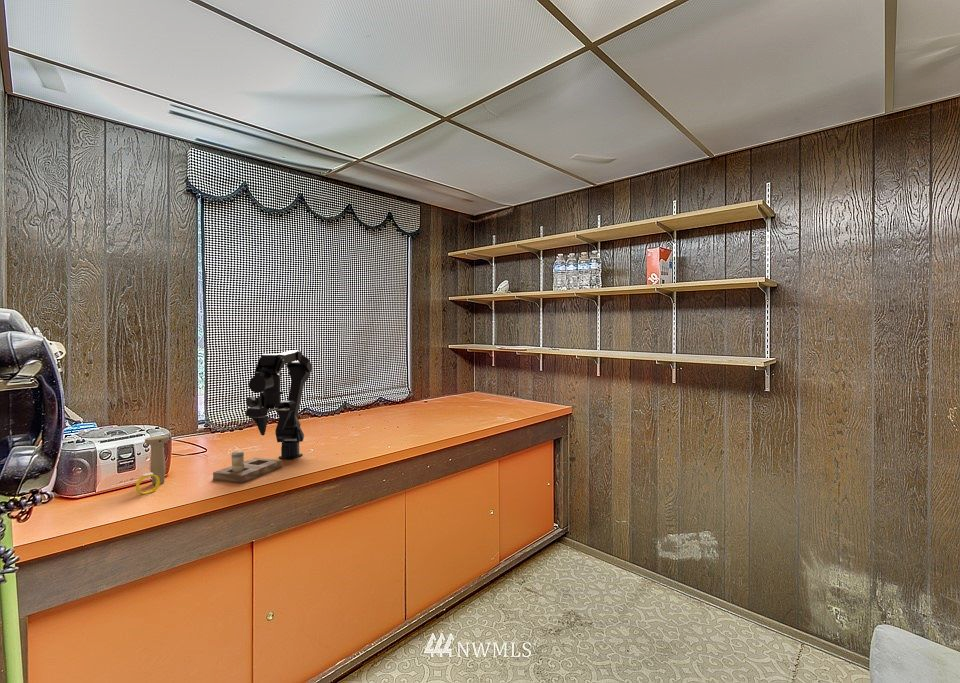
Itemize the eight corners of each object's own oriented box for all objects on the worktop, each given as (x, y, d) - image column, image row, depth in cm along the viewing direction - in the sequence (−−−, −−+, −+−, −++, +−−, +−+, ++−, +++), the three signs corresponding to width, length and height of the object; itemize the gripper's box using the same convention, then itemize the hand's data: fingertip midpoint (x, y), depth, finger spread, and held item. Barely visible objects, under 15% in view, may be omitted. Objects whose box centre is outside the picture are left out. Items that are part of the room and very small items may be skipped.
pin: (238, 473, 156) (237, 450, 156) (247, 474, 155) (246, 451, 155) (229, 477, 152) (228, 453, 152) (238, 478, 151) (237, 454, 151)
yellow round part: (140, 497, 136) (138, 478, 136) (135, 495, 138) (133, 476, 137) (162, 489, 142) (160, 471, 141) (157, 488, 143) (155, 470, 142)
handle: (172, 482, 149) (171, 436, 148) (149, 487, 144) (148, 440, 143) (166, 479, 152) (165, 434, 151) (143, 484, 146) (142, 438, 146)
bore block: (254, 464, 168) (254, 457, 168) (281, 467, 165) (281, 460, 165) (213, 479, 151) (212, 472, 151) (242, 483, 148) (241, 475, 147)
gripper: (272, 385, 174) (272, 425, 174) (232, 391, 156) (233, 436, 156) (296, 386, 171) (297, 427, 171) (258, 392, 153) (259, 439, 153)
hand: (272, 432), depth 163 cm, fingers open, 9 cm apart
